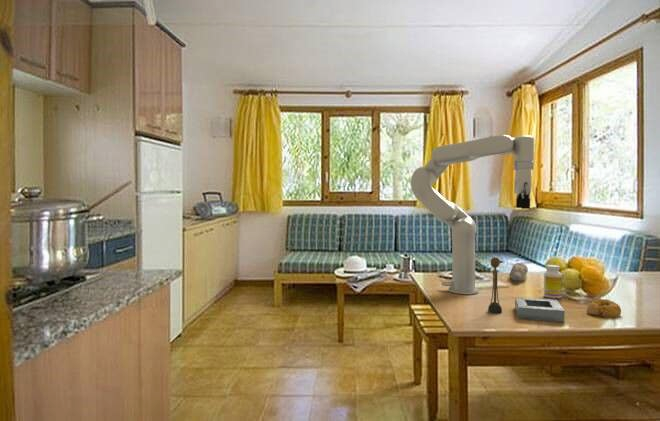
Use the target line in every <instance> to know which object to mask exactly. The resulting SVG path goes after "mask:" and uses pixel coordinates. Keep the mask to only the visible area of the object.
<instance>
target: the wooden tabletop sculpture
mask: <svg viewBox="0 0 660 421" xmlns="http://www.w3.org/2000/svg"><path fill="white" fill-rule="evenodd" d="M501 264H503V260H502V259H500V258H499V257H497V256H493V257H492V258H491V260H490V265H491V267H492V268H493V270H492V289H491V291H492V292H491V299H490V304H489V305H488V309H487V312H488V313H490V314H493V315H494V314H497V315H500V314H502V313H503V312H502V311H503V310H502V306H501V304H500V301H499V292H498V270H497V268H499V266H500V265H501Z"/></svg>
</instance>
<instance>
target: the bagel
mask: <svg viewBox="0 0 660 421" xmlns="http://www.w3.org/2000/svg"><path fill="white" fill-rule="evenodd" d="M586 313H587V314H588V315H593V316H595V317H596V316H598V317H605V318H617V317H619V316H620V315H621V314H622V309H621V306H620V305H619V304H618V303H616V302H615V301H612V300H609V299H604V298H602V299H601V298H599V299H595V300H593V301H592V302H590V304H588V305H587V308H586Z"/></svg>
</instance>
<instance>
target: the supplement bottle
mask: <svg viewBox="0 0 660 421" xmlns="http://www.w3.org/2000/svg"><path fill="white" fill-rule="evenodd" d="M543 296H544V297H545V298H546V299H554V300H557V299H561V298H562V296H563V274H562V273H561V271H560V265H554V264H547V265H546V271H545V272H544V273H543Z"/></svg>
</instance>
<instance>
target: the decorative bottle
mask: <svg viewBox="0 0 660 421" xmlns="http://www.w3.org/2000/svg"><path fill="white" fill-rule="evenodd" d="M528 270H529V268H528V266H527V265H526V264H525V263H523V262H516V263H514V264H513V265H512V268H511V270H510V273H509V276H510V278H511V279H512V280H513V281H514V282H523V281H524V280H526V278H527V274H528V272H529V271H528Z"/></svg>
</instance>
